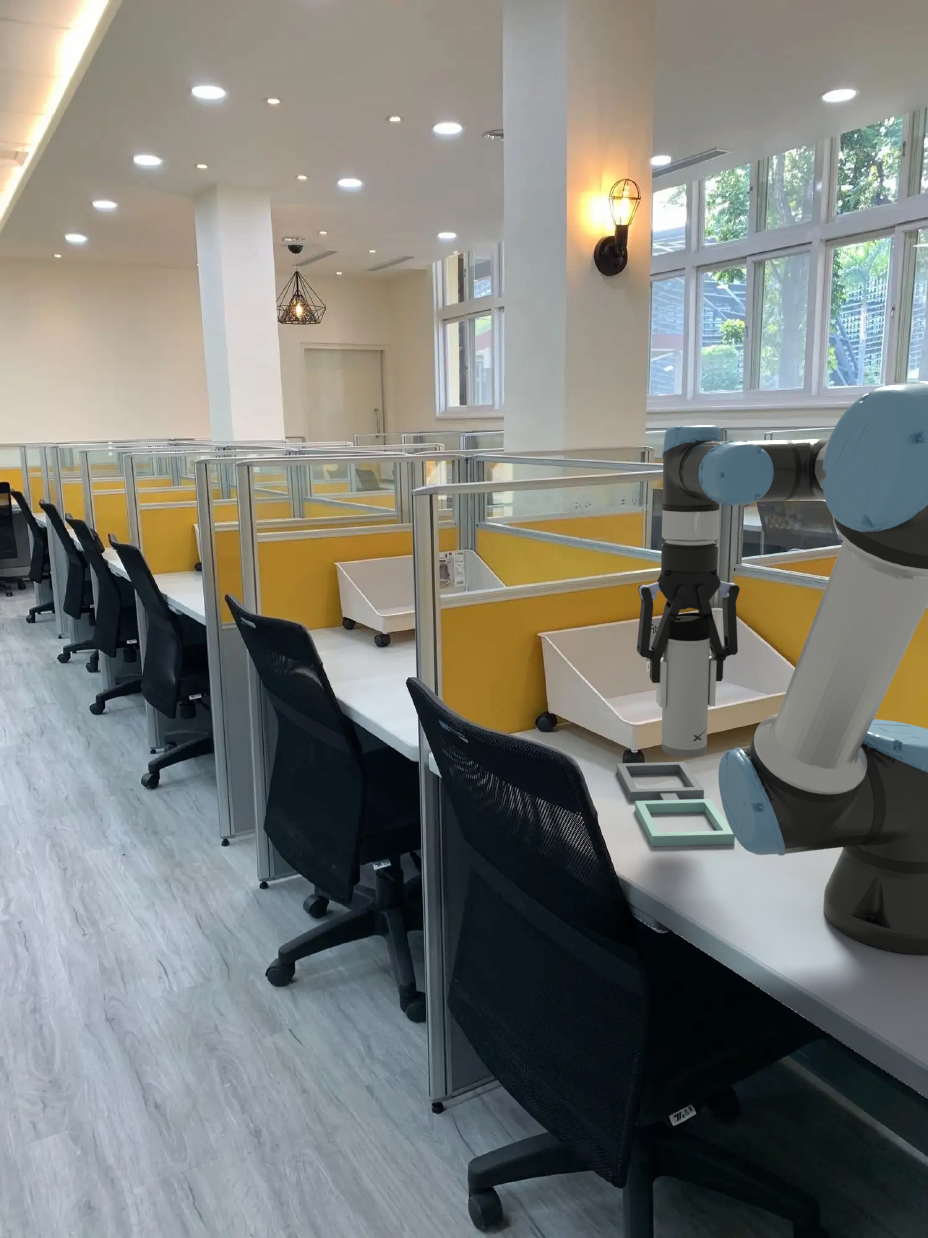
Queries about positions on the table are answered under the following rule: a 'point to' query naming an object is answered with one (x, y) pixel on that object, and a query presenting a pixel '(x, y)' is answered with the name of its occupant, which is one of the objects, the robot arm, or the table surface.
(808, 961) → the table surface
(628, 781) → the frame
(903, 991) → the table surface
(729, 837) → the frame
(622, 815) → the table surface
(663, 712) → the travel mug
